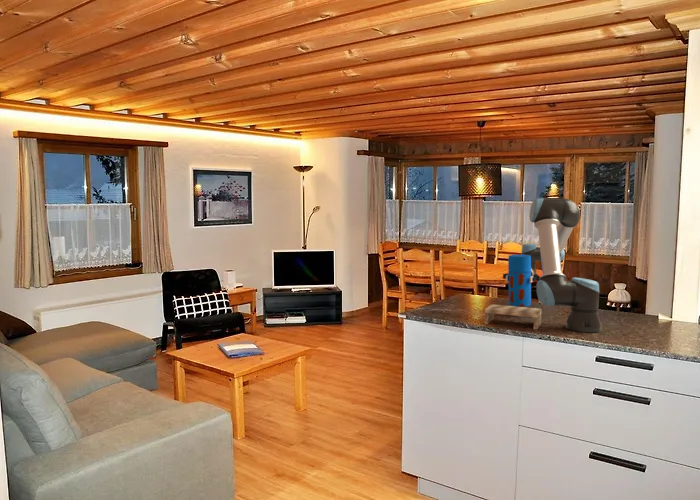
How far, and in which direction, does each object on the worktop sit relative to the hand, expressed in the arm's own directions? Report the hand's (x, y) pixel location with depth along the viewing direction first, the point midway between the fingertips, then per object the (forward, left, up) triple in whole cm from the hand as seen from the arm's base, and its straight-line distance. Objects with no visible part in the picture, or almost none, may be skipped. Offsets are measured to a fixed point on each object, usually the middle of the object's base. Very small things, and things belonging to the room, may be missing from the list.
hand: (518, 279), depth 276 cm
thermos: (+1, -3, -14) cm, 14 cm away
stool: (-7, +12, -20) cm, 24 cm away
